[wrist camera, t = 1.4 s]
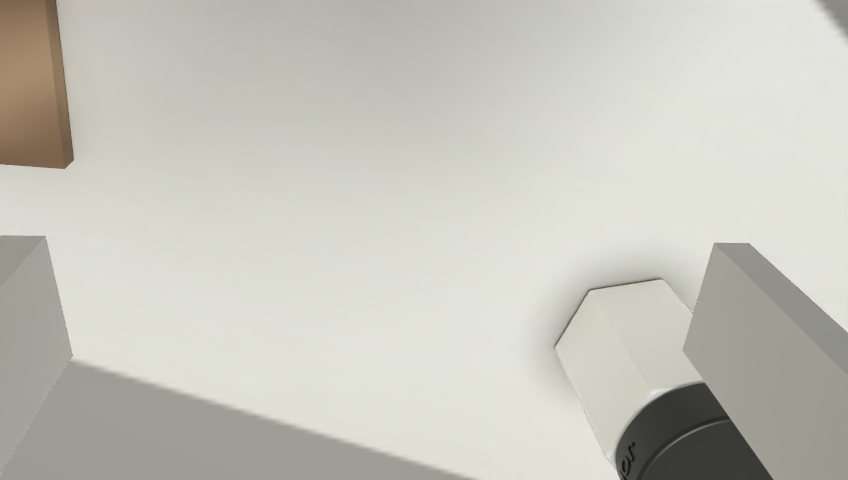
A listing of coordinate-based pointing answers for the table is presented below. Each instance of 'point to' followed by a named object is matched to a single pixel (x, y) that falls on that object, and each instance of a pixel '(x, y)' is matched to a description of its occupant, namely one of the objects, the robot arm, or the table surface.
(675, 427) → the jar
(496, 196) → the table surface
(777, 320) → the robot arm
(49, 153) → the shaft base
